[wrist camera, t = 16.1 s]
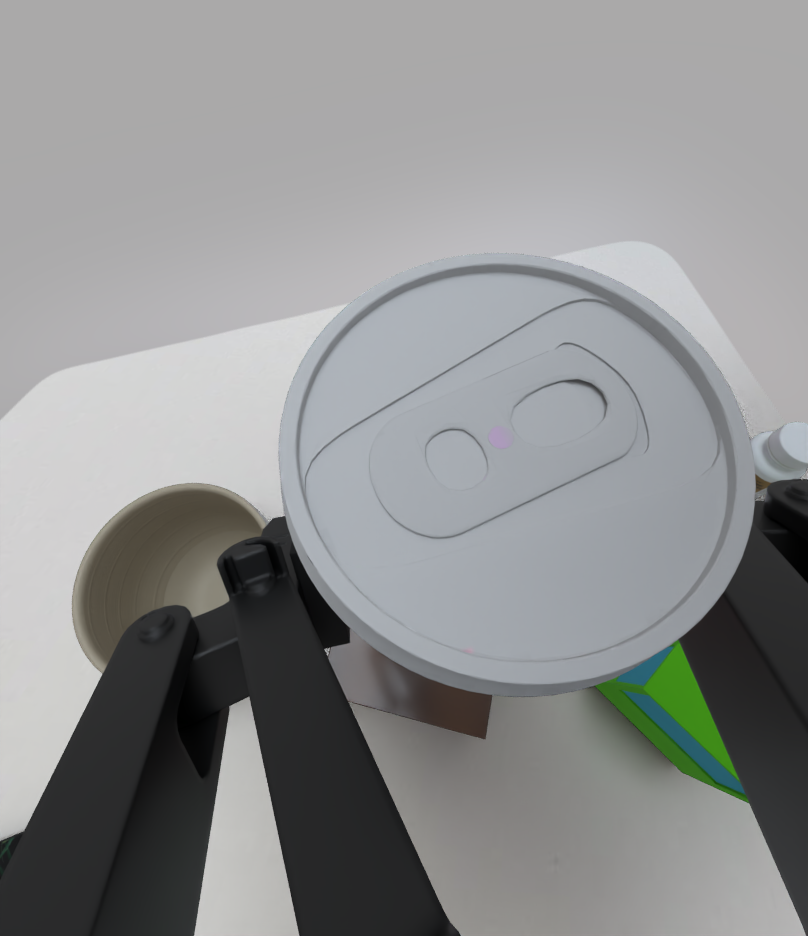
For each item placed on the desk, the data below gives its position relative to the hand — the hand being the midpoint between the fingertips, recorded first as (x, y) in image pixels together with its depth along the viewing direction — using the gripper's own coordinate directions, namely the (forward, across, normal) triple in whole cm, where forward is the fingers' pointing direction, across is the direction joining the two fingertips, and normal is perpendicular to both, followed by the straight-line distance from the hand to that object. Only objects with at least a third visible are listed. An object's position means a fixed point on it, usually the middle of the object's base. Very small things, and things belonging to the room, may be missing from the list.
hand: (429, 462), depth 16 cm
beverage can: (+1, 0, -6) cm, 7 cm away
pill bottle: (+18, +29, -15) cm, 38 cm away
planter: (+17, -15, -16) cm, 28 cm away
